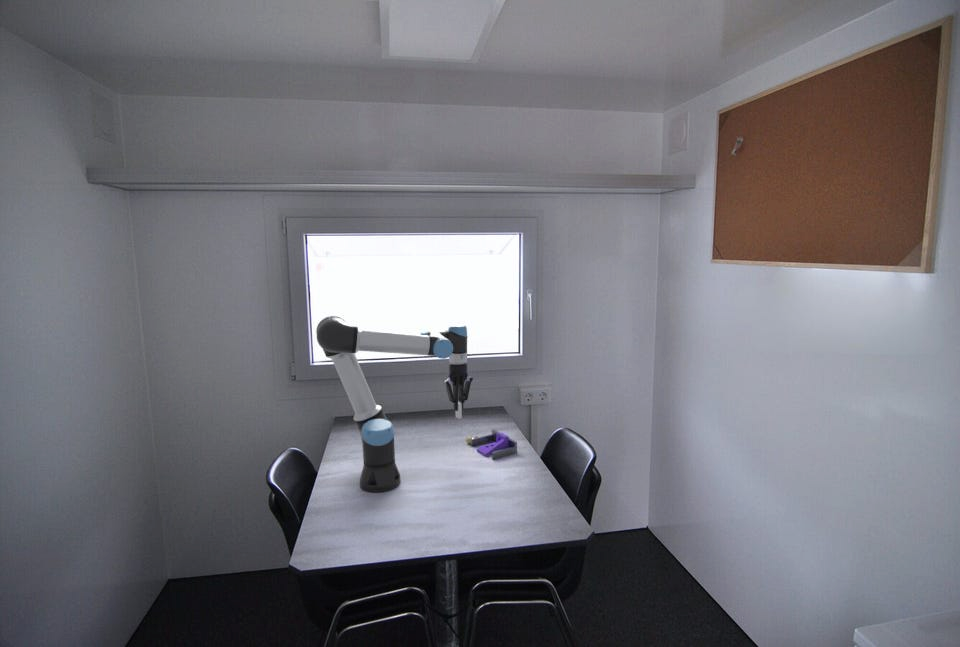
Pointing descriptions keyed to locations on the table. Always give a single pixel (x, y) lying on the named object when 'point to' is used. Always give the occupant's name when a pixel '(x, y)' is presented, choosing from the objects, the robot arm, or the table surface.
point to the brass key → (470, 439)
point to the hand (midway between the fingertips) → (458, 417)
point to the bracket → (495, 445)
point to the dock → (492, 437)
